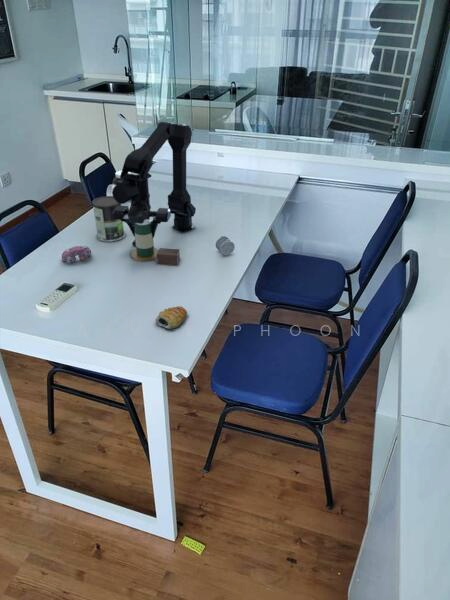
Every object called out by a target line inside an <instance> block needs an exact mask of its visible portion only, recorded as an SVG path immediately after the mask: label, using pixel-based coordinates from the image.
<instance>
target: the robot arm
mask: <svg viewBox="0 0 450 600" xmlns="http://www.w3.org/2000/svg"><path fill="white" fill-rule="evenodd" d="M192 136H193V131H192V128H191V127H190V125H188V124H183V123H175V122H168V121H159V122H158V123H157V126H156V128H155V130H153V131H152V133H151V134H150V136H149V137H148V138H147V139H146V140H145V142H144V143H143V144H142V145H141V146H140V147H139V148H136V149H134V150H132V151H131V152H130V153H129V154H127V155H126V157H125V159H124V162H123V165H122V169H121V170H122V172H121V175H120V178H123V180H121V181H118V182H116V184H117V186H115V187H114V188H113V191H112V194H113V197H114V199H115V200H116V201H117V202H118V203H120V204H121V206H119V205H118V206H117V207H116V208H115V210H114V211H113V219H121V221H123V223H125V224H127V226H128V228H129V230H130V232H131V234H132V236H133V237H135V231H134V223H139V224H142V223H144V220H146V219H149V220H150V218H152V220H151V221H152V222H151V223H152V238H153V239H154V238H155V235H156V233H157V229H158V226H159V224H161V223H168V222H169V220H170V218H171V216H172V215H173V216H174V218H173V226H172V227H171V228H172V229H174V230H176V231H177V232H180V233H183V234H184V233H185V232H188V231H192V230H194V229H195V226H193V217H195V215H196V212H197V211H196V210H197V209H196V206H194V205H193V203H192V198H191V195H190V193H189V192H188V191H189V190H188V189H187V149H188V148H189V147H190V145H191V143H192ZM166 142H167V143H168V145H169V147H170V148H171V151H172V191H171V192H170V194H167V206H168V208H167V207H166V208H165V207H158V209H157V210H151V208H152V205H151V201H150V197H151V194H150V191H149V189H150V188H149V179H150V178H152V174H151V173H149V172H150V170H151V169H152V167H153V165H154V158H155V156H156V155H157V154H158V152H159V151H160V150H161V148H162V147H163V146H164V145H165V143H166ZM128 172H131V174H129V173H128ZM128 202H130V206H128V205H124V204H126V203H128Z"/></svg>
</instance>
